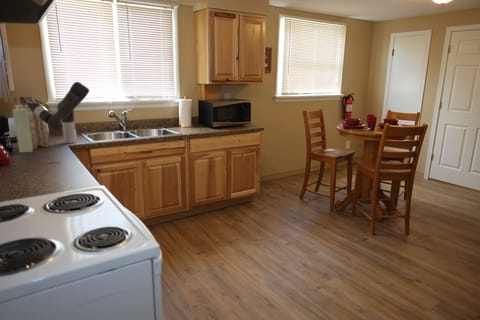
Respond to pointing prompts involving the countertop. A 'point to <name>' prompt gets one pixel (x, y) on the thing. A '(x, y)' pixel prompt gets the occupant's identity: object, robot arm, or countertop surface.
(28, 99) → the walnut bar
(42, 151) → the countertop surface
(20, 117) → the sage post
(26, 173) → the countertop surface
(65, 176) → the countertop surface
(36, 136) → the tan egg carton
